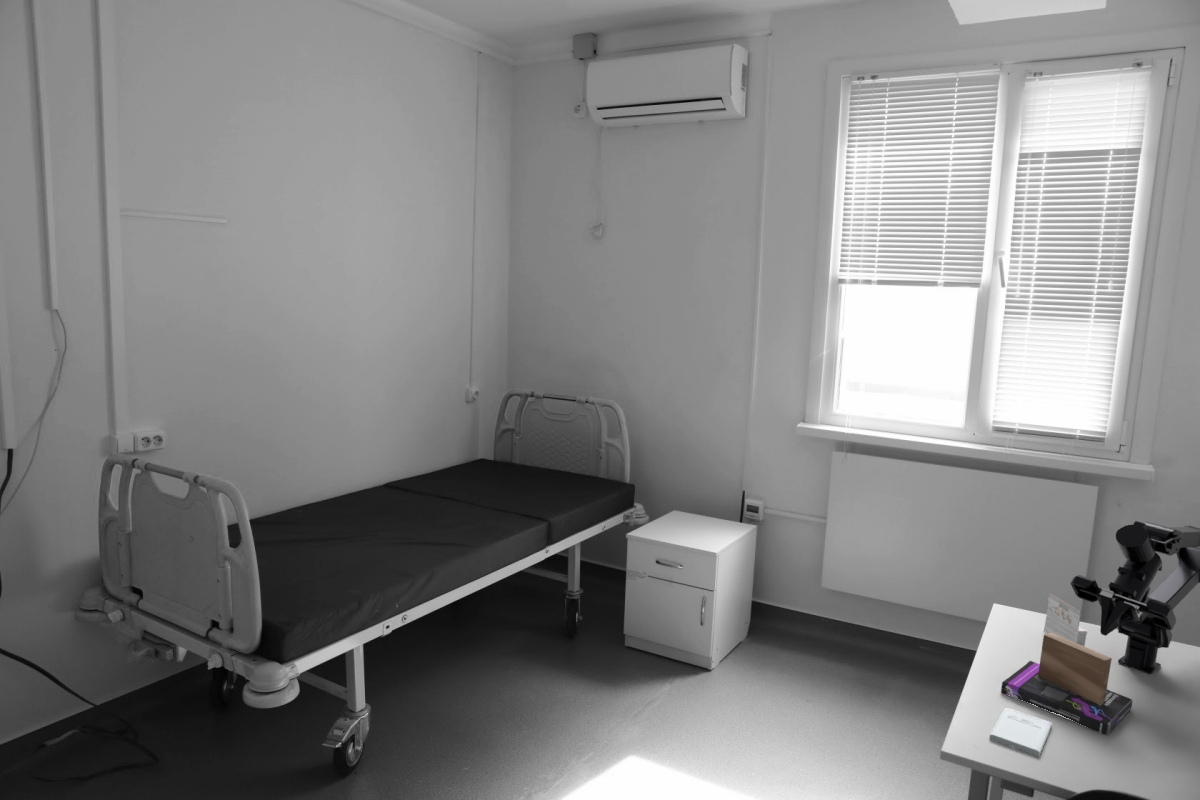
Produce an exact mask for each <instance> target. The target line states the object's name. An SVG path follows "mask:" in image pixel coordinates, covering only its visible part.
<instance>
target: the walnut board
mask: <svg viewBox="0 0 1200 800" xmlns="http://www.w3.org/2000/svg"><path fill="white" fill-rule="evenodd" d="M1112 660H1113V659H1112V657H1111V656H1107V655H1105V654H1103V653H1101V652H1099V651H1096V650H1094V649H1092V648H1089V647H1086V646H1082V645H1080V644H1077V643H1075V642H1072V641H1070V640H1068V639H1065V638H1063V637H1061V636H1058V635H1056V634H1053V633H1051V632H1050V633H1047V632H1046V633H1044V634H1043V639H1042V646H1041V652H1040V659H1039V664H1040V665H1039V672H1038V676H1039V677H1041V678H1044V679H1046V680H1048V681H1050V682H1052V683H1054V684H1056V685H1058V686H1061V687H1063V688H1065V689H1067V690H1069V691H1071V692H1073V693H1075V694H1077V695H1080V696H1082V697H1084V698H1086V699H1088V700H1090V701H1092V702H1094V703H1097V704H1099V703H1102V702H1104V701H1105V697H1106V690H1108V684H1109V678H1110V670H1111V664H1112Z"/></svg>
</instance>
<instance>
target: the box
mask: <svg viewBox="0 0 1200 800" xmlns="http://www.w3.org/2000/svg"><path fill="white" fill-rule="evenodd" d="M1039 665H1040V663H1038V662H1035V661H1032V660H1029V661H1028V662H1027V663H1026V664H1025V665H1023V666H1022V667H1021V668H1019V669H1018V670H1016V671H1015V672H1014V673H1012V674H1011V675H1010V676H1009V677H1007V678H1006V679H1005V680H1003V681H1002V682H1001V688H1000V692H1001V694H1004V695H1006V694H1007V696H1008V695H1010V696H1009V697H1011V696H1012V697H1011V698H1013V697H1015V698H1014V699H1016V698H1018V699H1020V700H1019V701H1021V700H1023V701H1026V702H1028V703H1031V704H1034V705H1036V706H1038V707H1040V708H1043V709H1046V710H1048V711H1050V712H1054V713H1056V714H1060V715H1062V716H1064V717H1066V718H1069V719H1071V720H1073V721H1075V722H1077V723H1079V724H1078V725H1080V724H1081V725H1080V726H1082V725H1083V726H1082V727H1084V726H1086V727H1085V728H1087V727H1088V729H1089V728H1090V730H1092V731H1095V732H1097V733H1099V734H1102V735H1104V736H1109V735H1110V733H1112V732H1113V730H1114V729H1115V728H1116V727H1117V726H1118V725H1119V724H1120V723H1121V722H1122V721H1123V720H1124V719H1125V718H1126V717H1127V716H1128V715H1129V714H1130V713H1131V710H1132V706H1133V702H1134V700H1133V699H1132V698H1130V697H1128V696H1124V695H1122V694H1120V693H1117V692H1114V691H1111V690H1109V689H1107V690H1106V697H1105V701H1104V702H1102V703H1099V704H1097V703H1094V702H1092V701H1090V700H1088V699H1086V698H1084V697H1082V696H1080V695H1077V694H1075V693H1073V692H1071V691H1069V690H1067V689H1065V688H1063V687H1061V686H1058V685H1056V684H1054V683H1052V682H1050V681H1048V680H1046V679H1044V678H1041V677H1039V676H1038V672H1039ZM1018 699H1017V700H1018ZM1023 701H1022V702H1023ZM1026 702H1025V703H1026ZM1028 703H1027V704H1028ZM1038 707H1037V708H1038ZM1040 708H1039V709H1040ZM1043 709H1042V710H1043ZM1048 711H1047V712H1048ZM1050 712H1049V713H1050ZM1075 722H1074V723H1075ZM1077 723H1076V724H1077Z"/></svg>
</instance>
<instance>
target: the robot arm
mask: <svg viewBox="0 0 1200 800" xmlns="http://www.w3.org/2000/svg"><path fill="white" fill-rule="evenodd" d="M1115 539H1116V542H1117V545H1118V547H1119V550H1121V551H1120V552H1121V554H1122V555H1123V556H1124V558H1125V559H1126V561H1125V562H1124V564H1123V565H1122V566H1119V567H1118V569H1117V572H1118V574H1117V576H1116V578H1115V579H1114V581H1113V582H1112V581H1111V582H1109V584H1108V587H1109V589H1107V588H1105V587H1099V585H1098V583H1097V581H1096V579H1092V578H1090V577H1086V576H1084V575H1081V574H1078V575H1075V576H1073V578H1072V579H1071V582H1070V586H1071V587H1072V589H1073V592H1074V593H1075V595H1076V597H1078V598H1079V599H1082V600H1084V601H1087V602H1090V603H1096V602H1098V603H1099V606H1100V608H1101V609H1100V610H1101V614H1100V615H1101V617H1100V630H1099V631H1100V634H1101V636H1105V637H1106V636H1107V635H1109V634H1110V633H1112V632H1113V631H1115V630H1116V629H1117V632H1118V633H1119V634H1122V635H1125V636H1127V640H1126V646H1125V653H1124V655H1123V656H1122V657H1120V658H1119V659H1118V661H1117V663H1119V664H1122V665H1125V666H1128V667H1129V668H1132V669H1136V670H1138V671H1140V672H1143V673H1147V674H1154V672H1156V671H1157V670H1158V669H1159V668H1161V666H1162V664H1161V663H1159V662H1157V657H1158V652H1159V649H1161V648H1166V649H1168V648H1169V647H1170V644H1171V642H1172V638H1173V633H1172V630H1173V629H1174V626H1175V625H1176V623H1177V619H1176V614H1175V613H1174V609H1175V608H1176V607H1177V606H1178V605H1179V604H1180V603H1181V602H1182V600H1183V599H1185V597H1187V596H1188V594H1189V593H1190V592H1191V591H1192V590H1193V589H1195V587H1197V585H1199V584H1200V527H1197V526H1193V525H1184V526H1173V527H1169V526H1164V525H1160V524H1156V523H1155V522H1149V521H1144V522H1143V521H1138V520H1135V521H1134V522H1133V524H1128V525H1124V526H1122V527H1120V528H1119V529H1117V530H1116V533H1115ZM1158 553H1159V554H1162V555H1166V556H1174V555H1176V557H1177V567H1176V568H1175V569H1174V570H1173V571H1172V572H1171V573H1170V574H1169V575H1168V576H1167V577H1166V578H1165V579H1164V580H1163V581H1162V582H1161V583H1160V584H1159V585H1158V586H1157V587H1156V588H1155V589H1154V590H1153V591H1152V592H1151V593H1150V591H1151V587H1150V586H1151V585H1152V582H1153V581H1154V579H1155V577H1156V575H1157V574H1158V572H1161V571H1163V561H1162V559H1161V556H1160V555H1159V554H1158Z"/></svg>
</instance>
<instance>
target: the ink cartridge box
mask: <svg viewBox="0 0 1200 800" xmlns="http://www.w3.org/2000/svg"><path fill="white" fill-rule="evenodd" d="M1047 602H1048V603H1047V605H1048V606H1047V611H1046V615H1045V620H1044V621H1045V623H1044V628H1043V631H1044V633H1046V634H1047V633H1050V632H1051V633H1053V634H1056V635H1058V636H1061V637H1063V638H1065V639H1068V640H1070V641H1072V642H1075V643H1077V644H1080V645H1082V646H1084V647H1086V640H1087V634H1088V632H1087V630H1086V629H1084V628H1082V626H1080V622H1081V613H1082V612H1081V611H1080V610H1079V609H1077V608H1075V607H1073V606H1072V605H1071V604H1068V603H1067V602H1065V601H1064V600H1062V599H1060V598H1059V597H1058V596H1055V595H1054V594H1052V593H1050V592H1048V601H1047ZM1061 605H1063V606H1064V607H1066V609H1067V610H1068V611H1067V610H1065V609H1064V608H1063V607H1061Z"/></svg>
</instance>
